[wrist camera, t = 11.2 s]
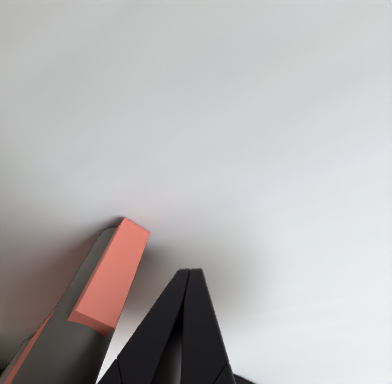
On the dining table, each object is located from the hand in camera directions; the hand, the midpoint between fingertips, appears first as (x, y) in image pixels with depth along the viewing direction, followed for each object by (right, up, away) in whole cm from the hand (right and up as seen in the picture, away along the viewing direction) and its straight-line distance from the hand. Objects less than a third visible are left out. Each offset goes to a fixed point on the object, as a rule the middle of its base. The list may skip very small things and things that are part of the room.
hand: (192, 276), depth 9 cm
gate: (-7, -3, +5) cm, 9 cm away
